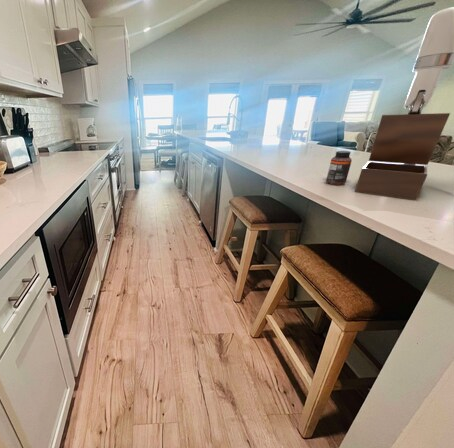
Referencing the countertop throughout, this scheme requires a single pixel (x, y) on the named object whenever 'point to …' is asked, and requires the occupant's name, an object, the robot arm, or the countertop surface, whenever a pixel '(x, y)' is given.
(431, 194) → the countertop surface
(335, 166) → the supplement bottle
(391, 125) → the lid
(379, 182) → the chest
